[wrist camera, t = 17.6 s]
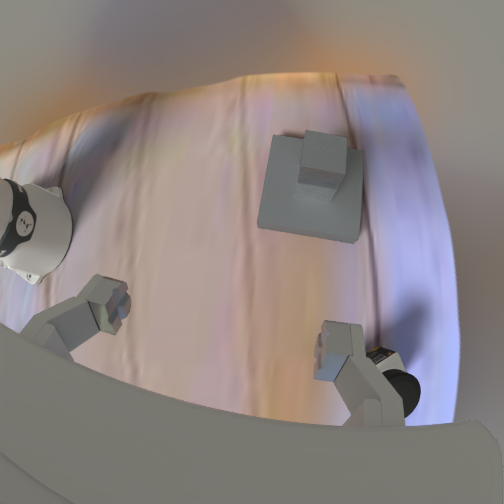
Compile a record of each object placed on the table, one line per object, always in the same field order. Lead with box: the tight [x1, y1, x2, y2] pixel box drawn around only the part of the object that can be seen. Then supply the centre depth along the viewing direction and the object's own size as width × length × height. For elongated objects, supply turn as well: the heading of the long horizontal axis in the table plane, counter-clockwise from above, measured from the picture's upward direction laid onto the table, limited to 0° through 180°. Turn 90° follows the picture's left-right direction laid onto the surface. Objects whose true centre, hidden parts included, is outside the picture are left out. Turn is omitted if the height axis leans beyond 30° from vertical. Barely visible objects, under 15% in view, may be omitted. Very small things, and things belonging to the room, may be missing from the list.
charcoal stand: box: [257, 135, 364, 244], centre depth 41 cm, size 14×14×3 cm
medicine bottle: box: [366, 346, 421, 418], centre depth 31 cm, size 7×7×12 cm
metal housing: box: [295, 130, 347, 202], centre depth 36 cm, size 5×5×9 cm
